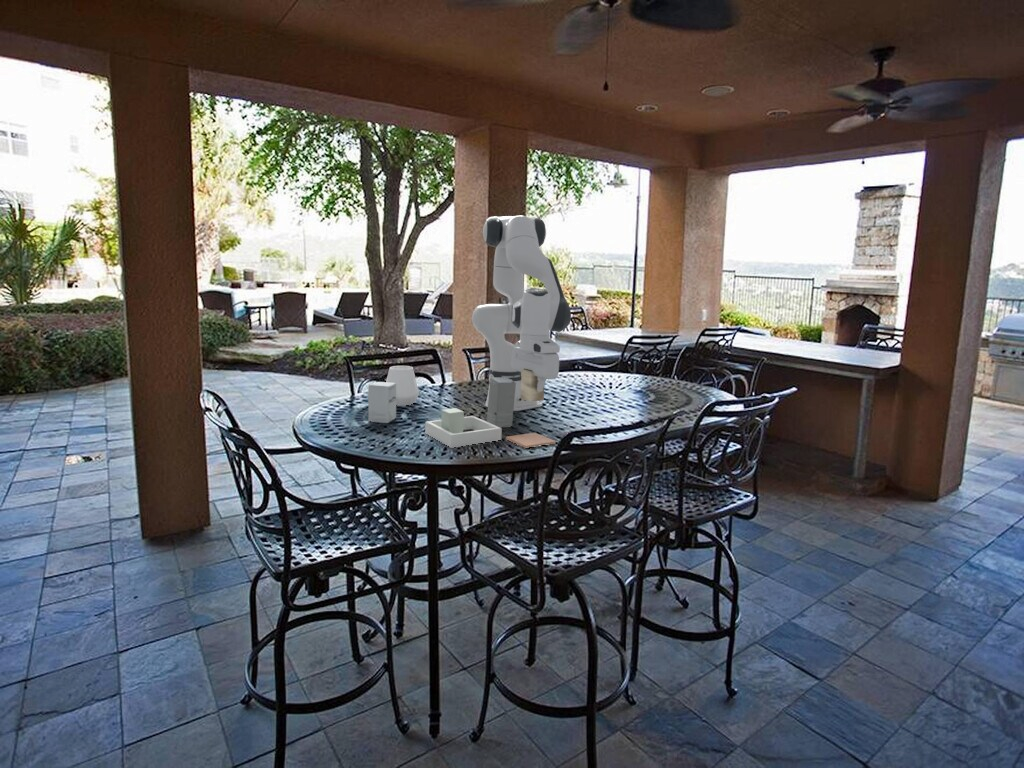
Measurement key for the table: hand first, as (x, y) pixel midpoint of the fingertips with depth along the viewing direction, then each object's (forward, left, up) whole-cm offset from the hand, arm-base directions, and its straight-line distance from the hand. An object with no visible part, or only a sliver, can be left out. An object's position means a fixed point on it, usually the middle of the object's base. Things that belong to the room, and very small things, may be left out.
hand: (532, 389), depth 189 cm
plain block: (+20, -14, -17) cm, 29 cm away
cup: (+14, -66, -17) cm, 70 cm away
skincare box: (-3, -22, -17) cm, 28 cm away
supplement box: (+30, -45, -17) cm, 57 cm away
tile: (0, 0, -17) cm, 17 cm away
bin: (+16, -14, -17) cm, 27 cm away
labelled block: (0, 0, -3) cm, 3 cm away
